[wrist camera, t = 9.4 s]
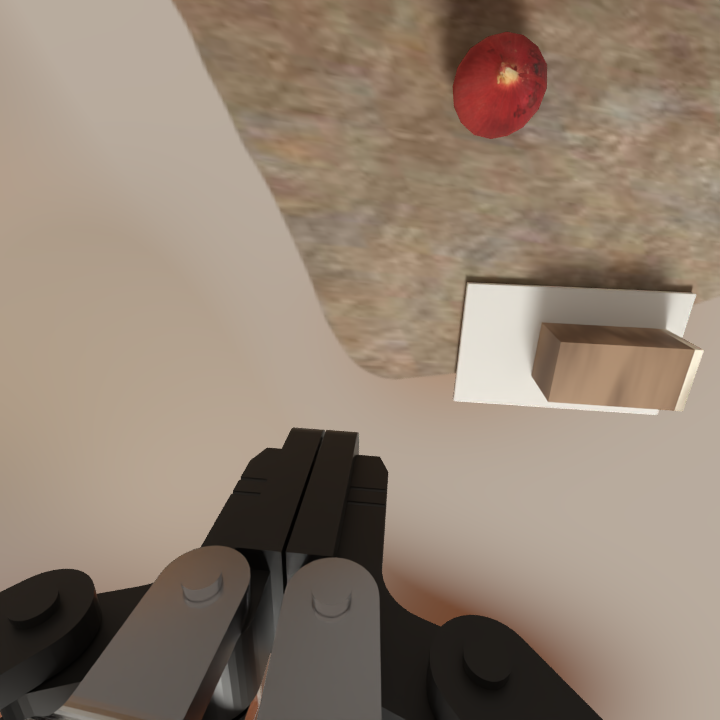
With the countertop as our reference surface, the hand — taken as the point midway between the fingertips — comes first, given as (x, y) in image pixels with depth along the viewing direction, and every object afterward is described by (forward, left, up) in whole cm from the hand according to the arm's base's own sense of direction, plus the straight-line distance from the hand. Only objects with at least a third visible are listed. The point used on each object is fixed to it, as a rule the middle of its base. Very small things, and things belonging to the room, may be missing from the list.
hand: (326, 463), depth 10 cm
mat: (-16, +7, -29) cm, 34 cm away
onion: (-7, -12, -29) cm, 32 cm away
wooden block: (-14, +7, -26) cm, 30 cm away
